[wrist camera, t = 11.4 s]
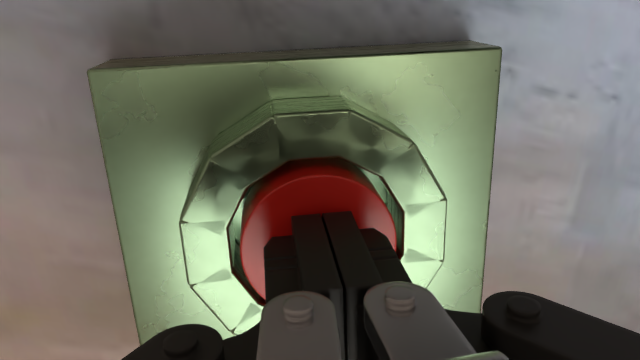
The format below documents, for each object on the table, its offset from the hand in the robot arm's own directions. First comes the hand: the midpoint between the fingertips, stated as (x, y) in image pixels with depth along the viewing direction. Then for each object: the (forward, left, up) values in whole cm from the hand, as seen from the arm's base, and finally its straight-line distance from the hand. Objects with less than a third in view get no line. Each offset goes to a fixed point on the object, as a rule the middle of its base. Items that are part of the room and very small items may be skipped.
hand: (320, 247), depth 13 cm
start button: (0, 0, -2) cm, 2 cm away
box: (0, 0, -4) cm, 4 cm away
